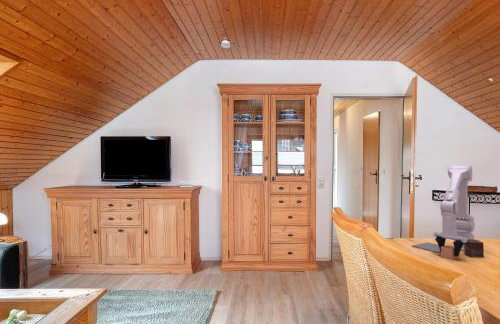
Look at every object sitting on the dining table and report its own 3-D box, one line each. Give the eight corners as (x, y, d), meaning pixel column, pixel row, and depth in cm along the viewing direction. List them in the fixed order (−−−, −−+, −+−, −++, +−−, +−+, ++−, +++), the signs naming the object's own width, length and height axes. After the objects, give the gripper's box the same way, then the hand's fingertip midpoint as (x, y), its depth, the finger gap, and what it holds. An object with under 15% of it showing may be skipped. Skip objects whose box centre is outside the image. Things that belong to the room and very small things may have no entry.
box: (484, 258, 150) (484, 242, 150) (469, 257, 151) (469, 241, 151) (477, 254, 155) (477, 239, 156) (463, 253, 157) (463, 238, 157)
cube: (447, 255, 154) (447, 245, 154) (458, 258, 150) (458, 247, 150) (441, 257, 152) (441, 246, 152) (451, 259, 147) (451, 249, 147)
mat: (427, 243, 177) (427, 242, 177) (453, 249, 164) (453, 248, 164) (411, 246, 170) (411, 245, 170) (437, 253, 158) (437, 251, 158)
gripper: (429, 224, 155) (429, 251, 155) (460, 229, 142) (460, 259, 142) (438, 222, 158) (438, 249, 158) (469, 227, 146) (469, 257, 146)
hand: (449, 254), depth 151 cm, fingers open, 6 cm apart
